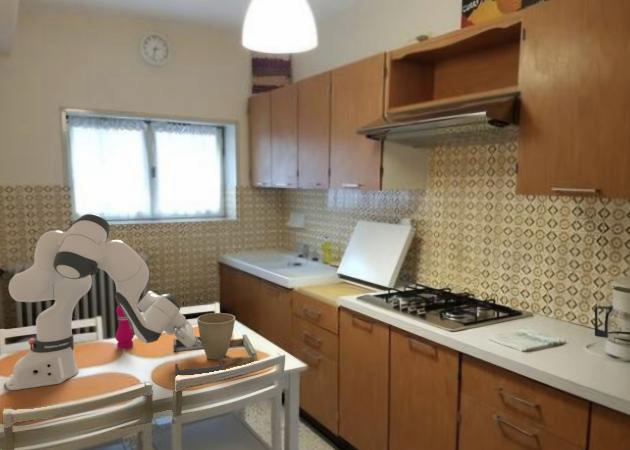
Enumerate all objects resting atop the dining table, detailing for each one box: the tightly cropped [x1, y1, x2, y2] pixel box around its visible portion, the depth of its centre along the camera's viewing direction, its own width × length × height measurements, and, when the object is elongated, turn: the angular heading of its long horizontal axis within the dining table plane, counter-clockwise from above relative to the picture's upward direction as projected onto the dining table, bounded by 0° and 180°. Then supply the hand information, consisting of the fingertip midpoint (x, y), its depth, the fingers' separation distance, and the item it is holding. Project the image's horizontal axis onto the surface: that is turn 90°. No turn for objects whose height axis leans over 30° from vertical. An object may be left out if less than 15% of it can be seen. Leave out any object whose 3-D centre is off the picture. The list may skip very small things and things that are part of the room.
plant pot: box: [196, 312, 236, 361], centre depth 185 cm, size 15×15×16 cm
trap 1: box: [173, 336, 204, 353], centre depth 196 cm, size 17×8×3 cm, turn 108°
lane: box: [222, 334, 257, 368], centre depth 187 cm, size 13×24×4 cm, turn 18°
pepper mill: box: [115, 305, 135, 350], centre depth 196 cm, size 7×7×20 cm
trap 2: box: [174, 358, 225, 377], centre depth 169 cm, size 17×8×3 cm, turn 108°
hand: (200, 345), depth 183 cm, fingers closed, pressing on plant pot
